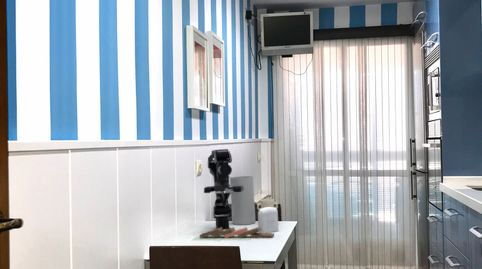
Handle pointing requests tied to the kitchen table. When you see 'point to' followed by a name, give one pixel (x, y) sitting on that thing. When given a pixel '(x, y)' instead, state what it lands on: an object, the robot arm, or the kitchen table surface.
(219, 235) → the domino
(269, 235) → the domino
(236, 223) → the cylinder vase
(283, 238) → the kitchen table surface
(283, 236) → the kitchen table surface
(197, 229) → the kitchen table surface
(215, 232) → the domino
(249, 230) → the domino
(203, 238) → the sage board
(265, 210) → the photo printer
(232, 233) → the red domino
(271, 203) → the character mug
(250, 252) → the kitchen table surface
